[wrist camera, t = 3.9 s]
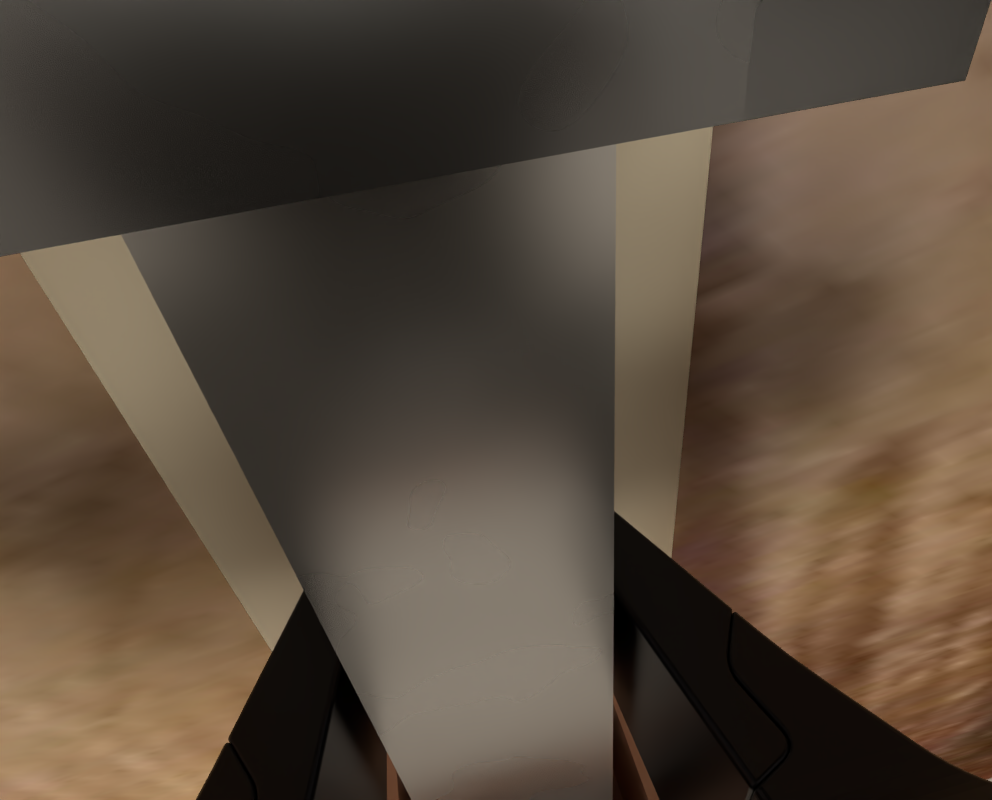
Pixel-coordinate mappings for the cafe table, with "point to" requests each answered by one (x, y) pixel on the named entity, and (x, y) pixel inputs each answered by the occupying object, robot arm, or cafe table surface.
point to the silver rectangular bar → (432, 449)
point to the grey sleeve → (402, 91)
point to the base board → (214, 468)
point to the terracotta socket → (629, 772)
